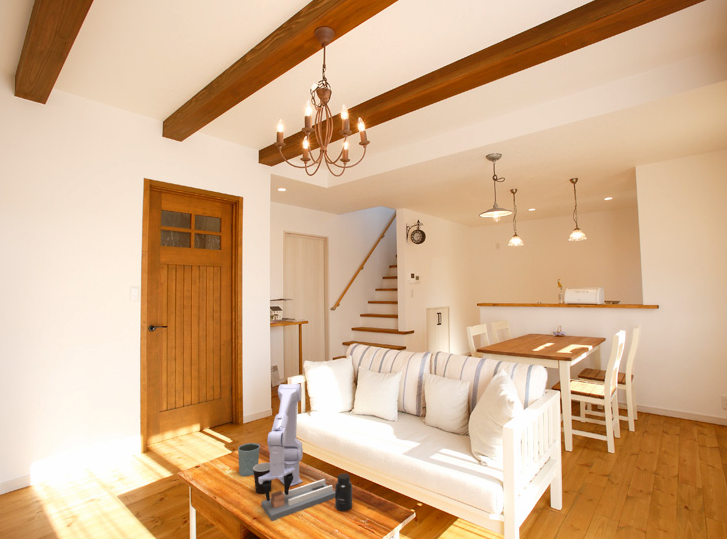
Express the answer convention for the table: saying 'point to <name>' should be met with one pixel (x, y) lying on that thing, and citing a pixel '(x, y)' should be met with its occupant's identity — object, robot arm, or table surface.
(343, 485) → the supplement bottle
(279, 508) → the trap deck
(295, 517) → the table surface
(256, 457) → the grey green planter pot
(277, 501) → the block
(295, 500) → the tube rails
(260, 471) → the coffee mug
